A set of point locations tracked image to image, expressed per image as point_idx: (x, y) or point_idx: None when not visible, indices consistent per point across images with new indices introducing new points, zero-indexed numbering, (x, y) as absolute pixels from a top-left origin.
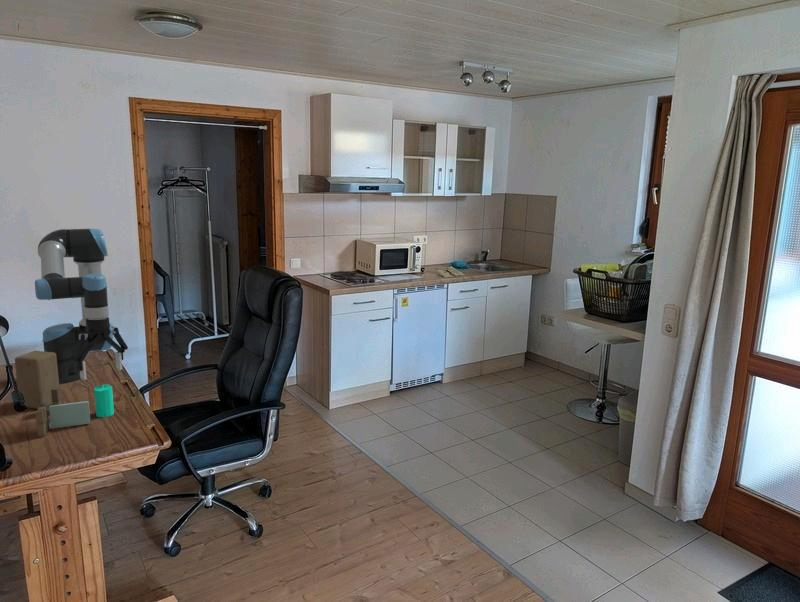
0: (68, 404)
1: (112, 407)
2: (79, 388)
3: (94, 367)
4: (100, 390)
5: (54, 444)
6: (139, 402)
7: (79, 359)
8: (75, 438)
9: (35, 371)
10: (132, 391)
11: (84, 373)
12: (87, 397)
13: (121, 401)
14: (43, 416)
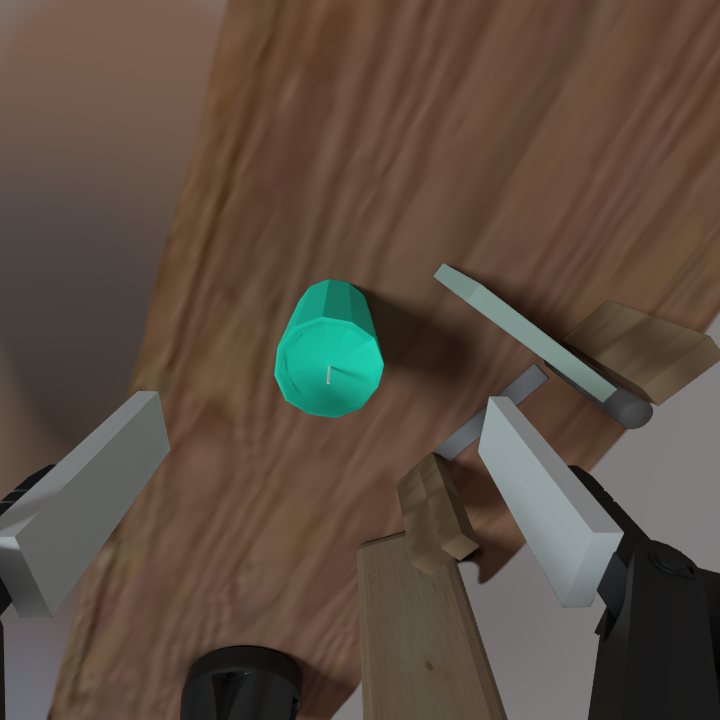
0: (553, 342)
1: (311, 292)
2: (255, 590)
3: (128, 694)
4: (358, 352)
5: (653, 191)
6: (154, 313)
7: (700, 593)
8: (575, 171)
9: (500, 702)
10: None
11: (530, 430)
12: (281, 511)
13: (210, 386)
14: (665, 337)
